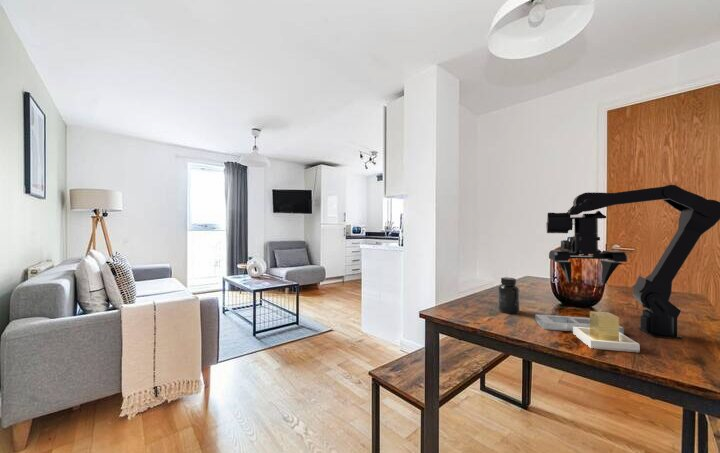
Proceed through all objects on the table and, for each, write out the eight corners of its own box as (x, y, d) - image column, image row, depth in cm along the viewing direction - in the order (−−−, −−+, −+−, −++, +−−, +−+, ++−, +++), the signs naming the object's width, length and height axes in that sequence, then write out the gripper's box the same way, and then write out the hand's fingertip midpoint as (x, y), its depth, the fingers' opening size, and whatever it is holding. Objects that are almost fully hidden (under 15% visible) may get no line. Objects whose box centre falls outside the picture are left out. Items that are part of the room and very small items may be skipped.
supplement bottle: (522, 314, 101) (521, 280, 101) (501, 313, 102) (500, 280, 102) (515, 308, 108) (515, 276, 107) (496, 308, 109) (495, 276, 109)
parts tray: (615, 336, 81) (615, 329, 81) (639, 352, 71) (639, 344, 71) (573, 333, 83) (572, 326, 83) (590, 348, 73) (590, 340, 73)
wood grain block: (609, 337, 79) (608, 312, 78) (619, 344, 74) (618, 317, 74) (589, 336, 80) (589, 311, 80) (598, 343, 75) (598, 316, 75)
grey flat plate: (607, 325, 89) (607, 318, 89) (623, 335, 82) (623, 327, 82) (535, 320, 95) (535, 314, 95) (543, 329, 87) (543, 322, 87)
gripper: (607, 232, 95) (607, 279, 95) (542, 232, 100) (543, 277, 100) (628, 233, 84) (628, 286, 84) (555, 234, 89) (555, 284, 89)
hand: (586, 283), depth 90 cm, fingers open, 9 cm apart
